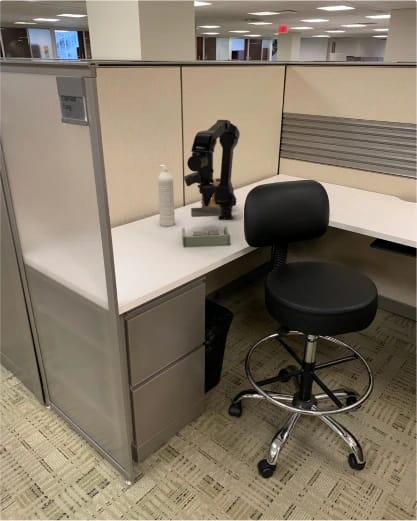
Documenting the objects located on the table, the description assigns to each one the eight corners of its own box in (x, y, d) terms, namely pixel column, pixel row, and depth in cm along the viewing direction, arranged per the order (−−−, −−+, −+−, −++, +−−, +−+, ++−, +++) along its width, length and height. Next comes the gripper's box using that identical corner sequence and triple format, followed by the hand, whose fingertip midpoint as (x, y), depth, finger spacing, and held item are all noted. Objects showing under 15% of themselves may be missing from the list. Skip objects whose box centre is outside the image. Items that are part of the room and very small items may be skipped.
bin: (182, 237, 167) (182, 228, 165) (226, 235, 168) (226, 226, 167) (183, 247, 158) (183, 237, 156) (230, 245, 159) (230, 235, 158)
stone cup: (235, 211, 197) (236, 180, 191) (213, 215, 192) (214, 183, 186) (221, 203, 210) (221, 174, 203) (200, 206, 205) (199, 176, 198)
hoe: (191, 214, 168) (190, 193, 165) (220, 213, 170) (220, 192, 166) (191, 217, 166) (191, 195, 162) (221, 216, 167) (221, 194, 163)
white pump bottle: (176, 225, 180) (174, 168, 169) (161, 227, 178) (158, 169, 167) (171, 219, 187) (169, 164, 176) (157, 220, 185) (154, 165, 175)
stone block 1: (193, 240, 164) (193, 231, 162) (203, 240, 164) (203, 231, 162) (193, 244, 160) (193, 235, 158) (203, 244, 160) (203, 234, 159)
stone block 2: (207, 240, 164) (207, 231, 162) (217, 239, 165) (217, 230, 163) (209, 244, 160) (209, 234, 159) (219, 243, 161) (219, 233, 159)
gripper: (183, 161, 167) (184, 198, 173) (186, 172, 150) (187, 213, 157) (211, 160, 168) (211, 197, 174) (216, 171, 151) (216, 211, 158)
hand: (205, 204), depth 166 cm, fingers closed on hoe, 3 cm apart
